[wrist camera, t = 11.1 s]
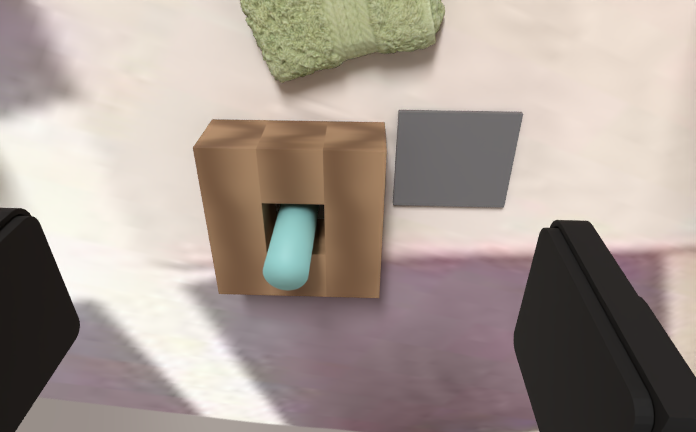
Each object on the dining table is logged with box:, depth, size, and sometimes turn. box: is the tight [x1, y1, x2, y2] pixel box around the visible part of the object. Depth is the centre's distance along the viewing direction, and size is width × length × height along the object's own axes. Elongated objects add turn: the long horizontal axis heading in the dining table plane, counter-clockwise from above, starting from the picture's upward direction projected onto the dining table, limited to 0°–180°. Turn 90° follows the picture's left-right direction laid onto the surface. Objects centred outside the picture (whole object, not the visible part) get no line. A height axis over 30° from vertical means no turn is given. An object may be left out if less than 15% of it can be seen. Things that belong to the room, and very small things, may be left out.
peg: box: [263, 204, 319, 290], centre depth 37 cm, size 3×3×10 cm
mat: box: [393, 110, 523, 207], centre depth 39 cm, size 9×8×1 cm
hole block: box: [193, 119, 387, 298], centre depth 39 cm, size 13×13×5 cm
